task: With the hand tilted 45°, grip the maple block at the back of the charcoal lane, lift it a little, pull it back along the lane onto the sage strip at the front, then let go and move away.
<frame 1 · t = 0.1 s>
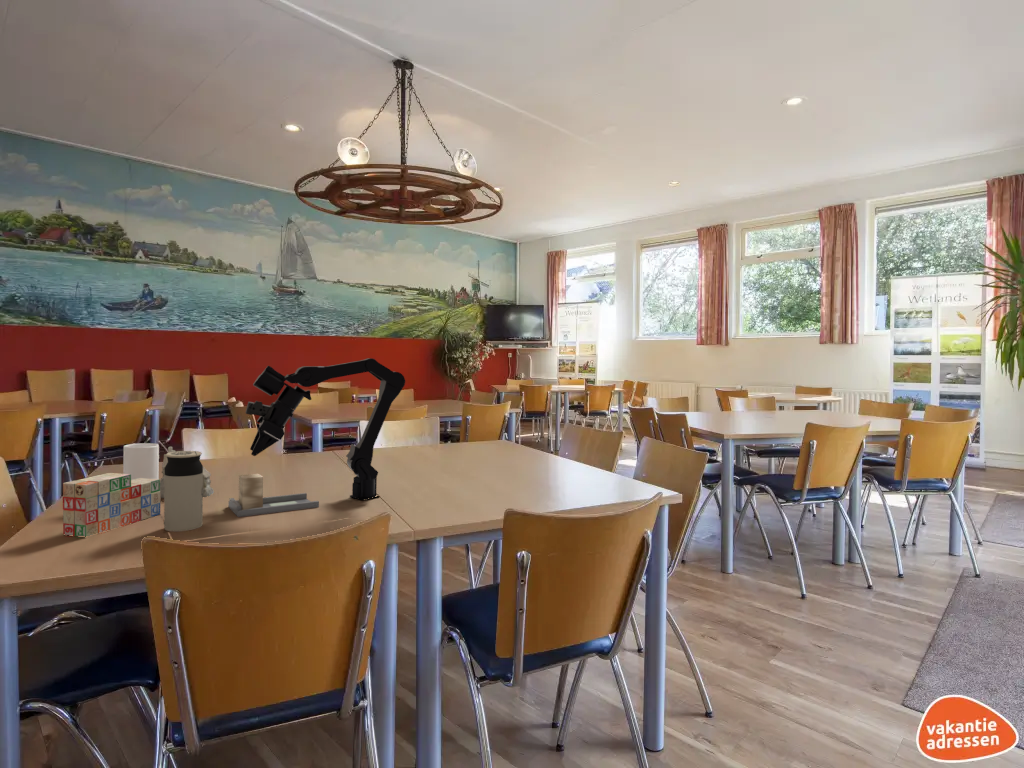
hand: (252, 452, 161), 15 cm above the table, tool tilted 35°, fingers open, 9 cm apart
travel mug: (183, 528, 140), on the table
lane: (274, 508, 160), on the table
cup: (141, 503, 162), on the table
stack of blocks: (115, 525, 141), on the table
ceramic cottage: (188, 493, 176), on the table
maple block: (250, 509, 157), resting on lane
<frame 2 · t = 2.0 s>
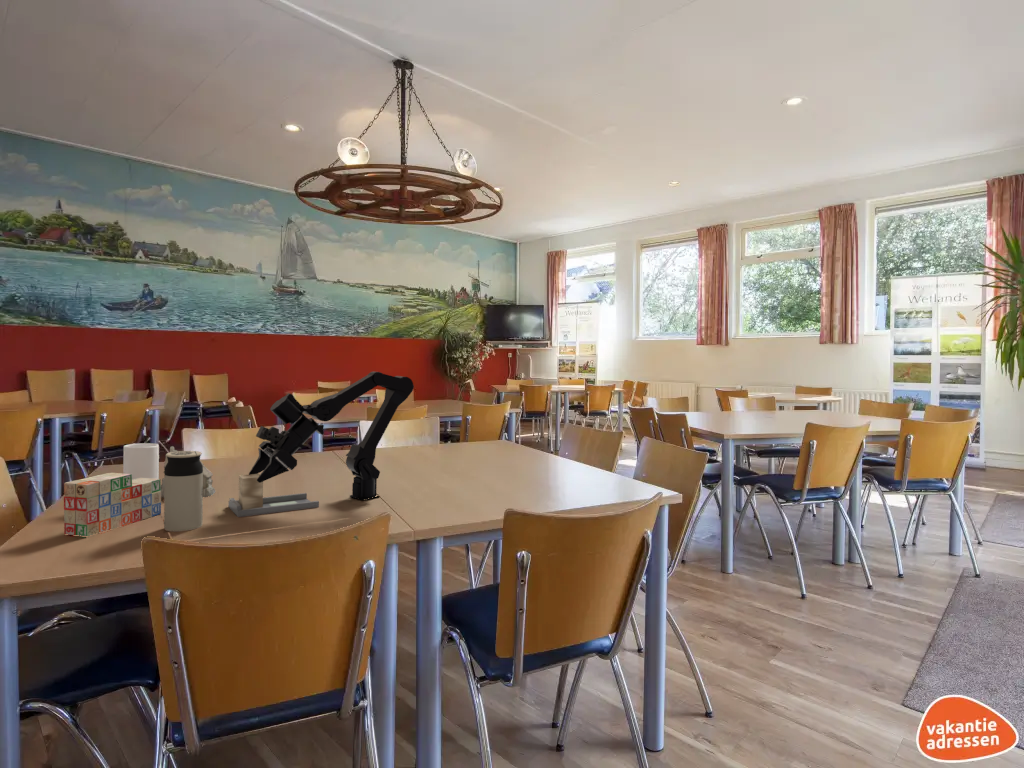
hand: (253, 478, 157), 9 cm above the table, tool tilted 45°, fingers open, 9 cm apart
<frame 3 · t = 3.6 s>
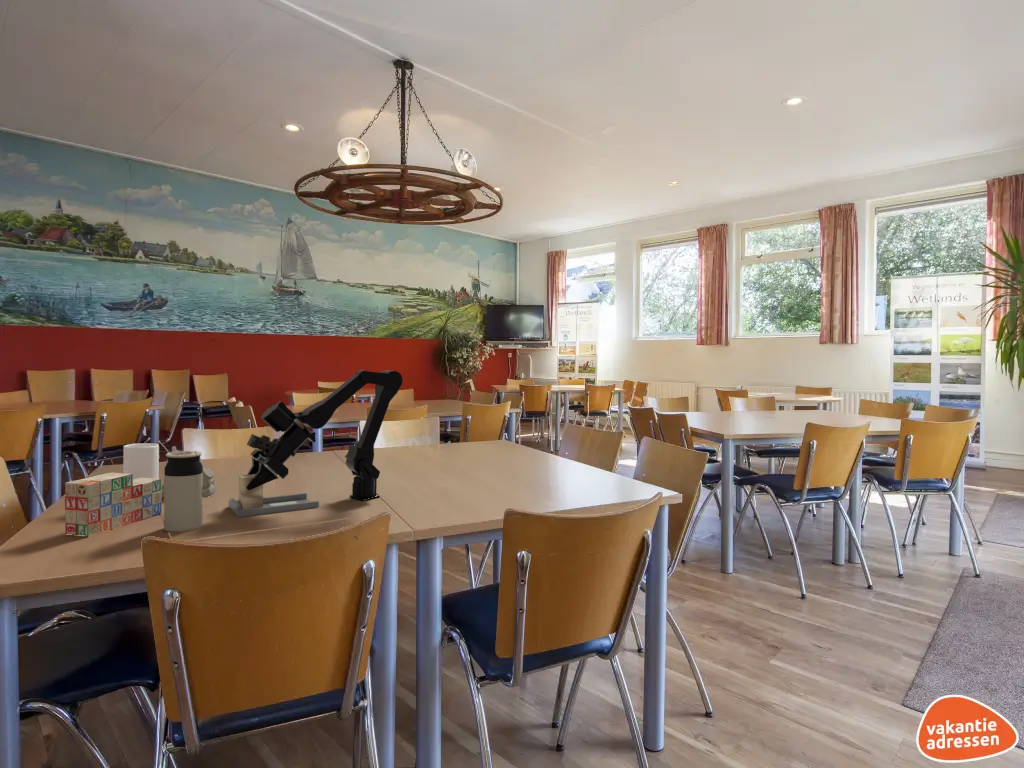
hand: (245, 487, 156), 7 cm above the table, tool tilted 45°, fingers closed on maple block, 5 cm apart
maple block: (250, 509, 157), resting on lane, touching gripper
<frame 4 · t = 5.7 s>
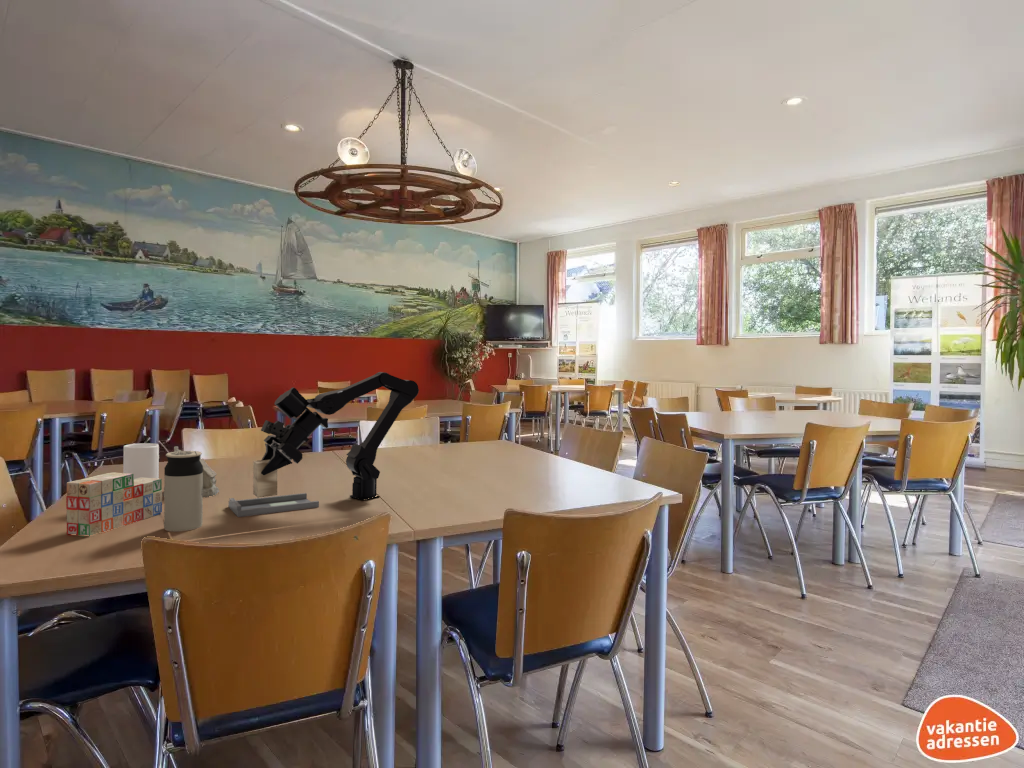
hand: (259, 472, 158), 10 cm above the table, tool tilted 45°, fingers closed on maple block, 5 cm apart
maple block: (265, 494, 159), point 4 cm above the table, touching gripper
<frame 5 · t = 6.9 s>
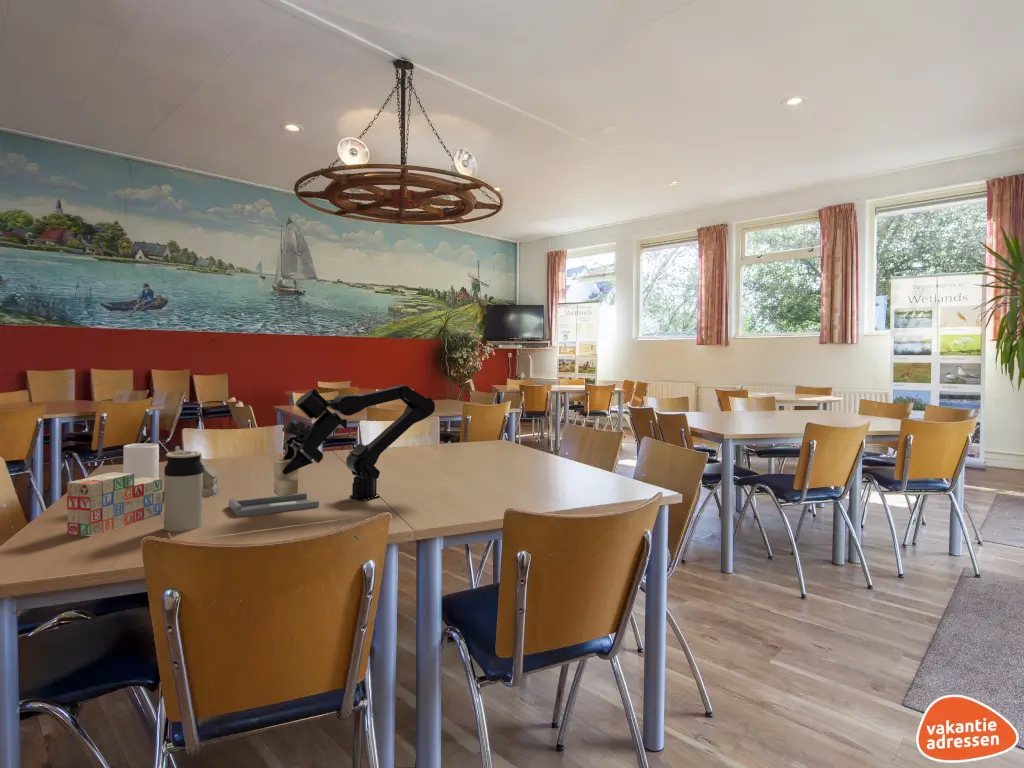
hand: (280, 471, 161), 10 cm above the table, tool tilted 45°, fingers closed on maple block, 5 cm apart
maple block: (285, 493, 162), point 4 cm above the table, touching gripper
when the fingers open (8 cm above the table, at t = 8.0 s): maple block drops 1 cm, resting on lane.
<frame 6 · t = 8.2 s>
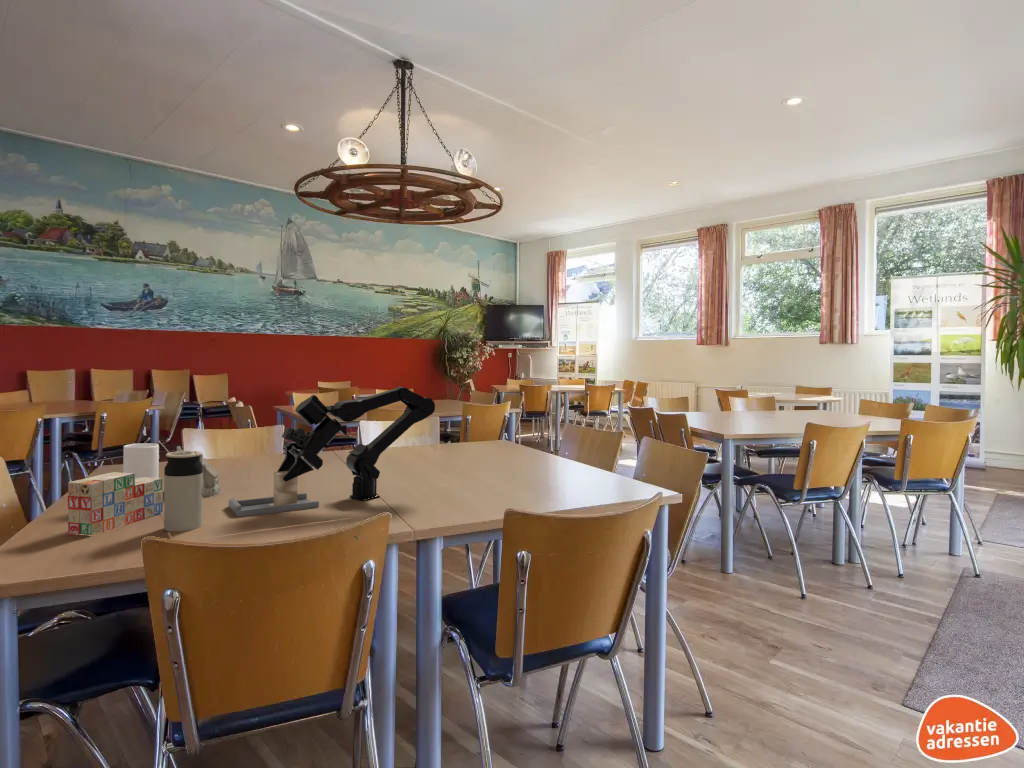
hand: (280, 478, 161), 8 cm above the table, tool tilted 45°, fingers open, 7 cm apart
maple block: (285, 505, 162), resting on lane
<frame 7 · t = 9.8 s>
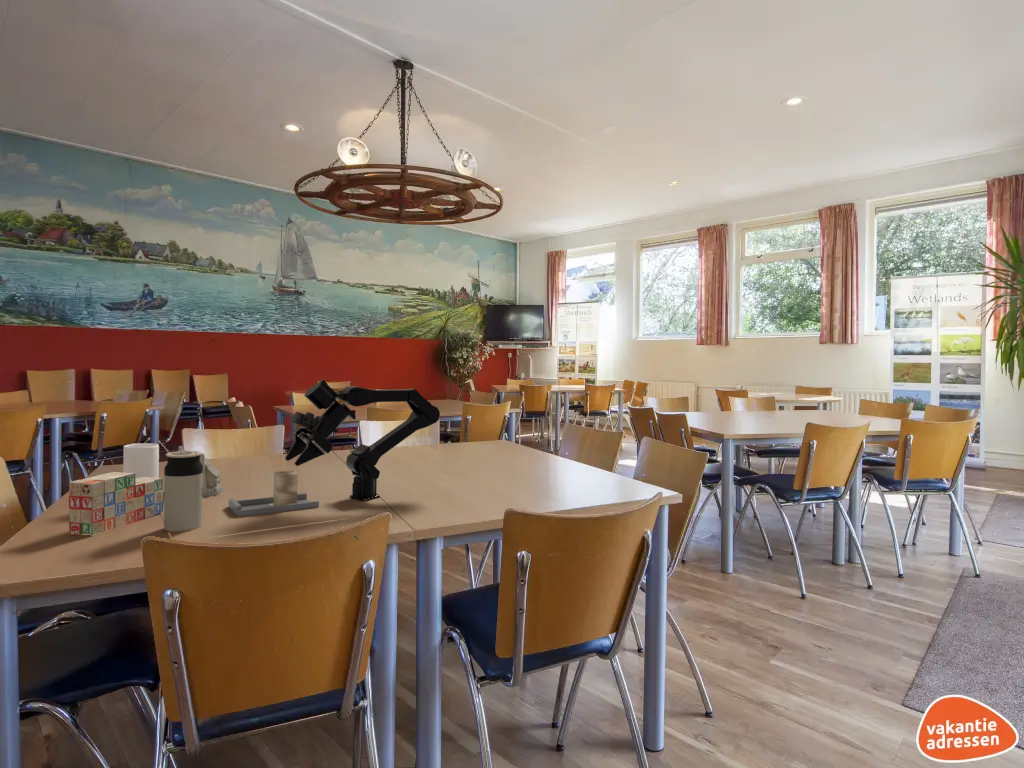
hand: (290, 462, 162), 12 cm above the table, tool tilted 45°, fingers open, 9 cm apart
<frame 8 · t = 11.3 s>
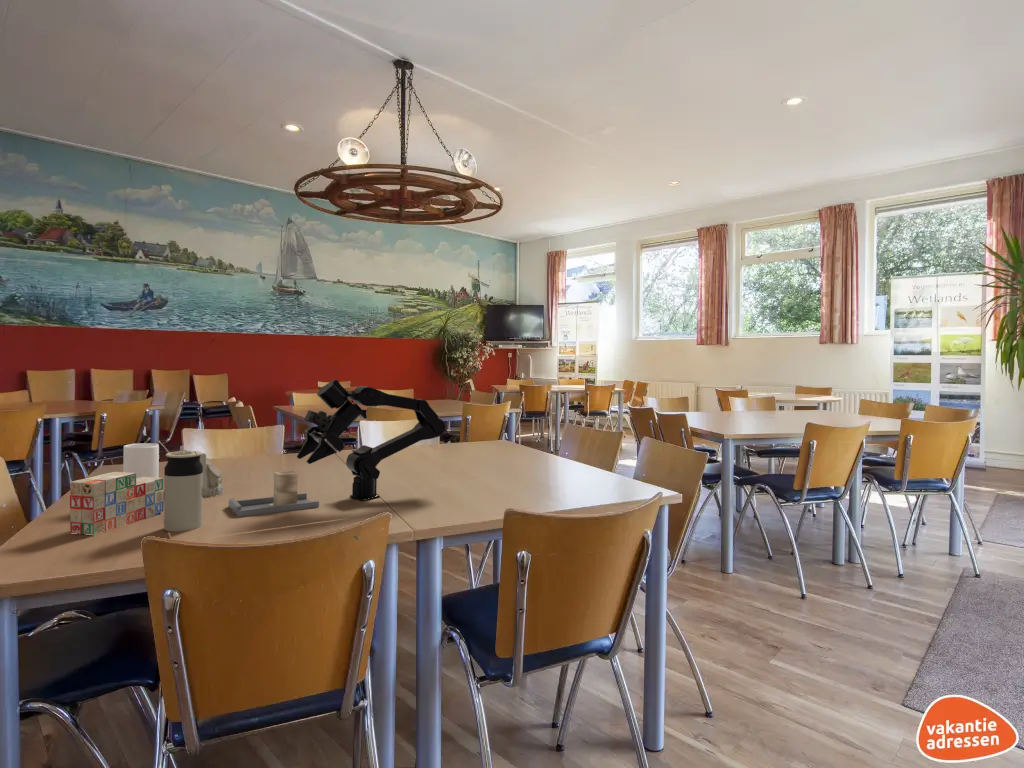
hand: (302, 460, 164), 13 cm above the table, tool tilted 45°, fingers open, 9 cm apart
at the end: maple block 0.0 cm from the target spot, point 0.5 cm above the table; maple block tilted 0°; the gripper is holding nothing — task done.
